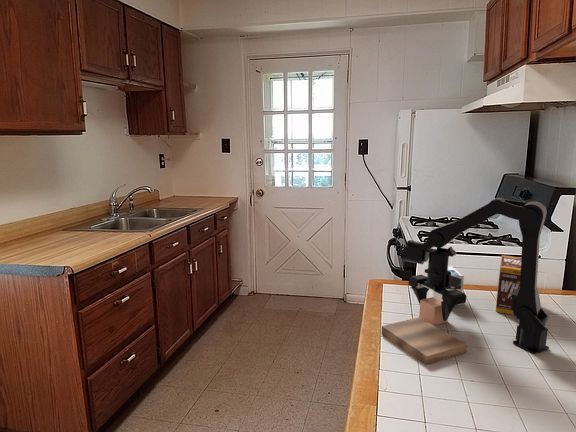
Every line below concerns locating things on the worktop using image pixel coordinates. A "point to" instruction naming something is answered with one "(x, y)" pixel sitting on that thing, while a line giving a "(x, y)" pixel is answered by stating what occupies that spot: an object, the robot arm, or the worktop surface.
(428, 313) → the terracotta cube
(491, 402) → the worktop surface
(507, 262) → the supplement box
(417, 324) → the walnut block
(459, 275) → the light bulb box
